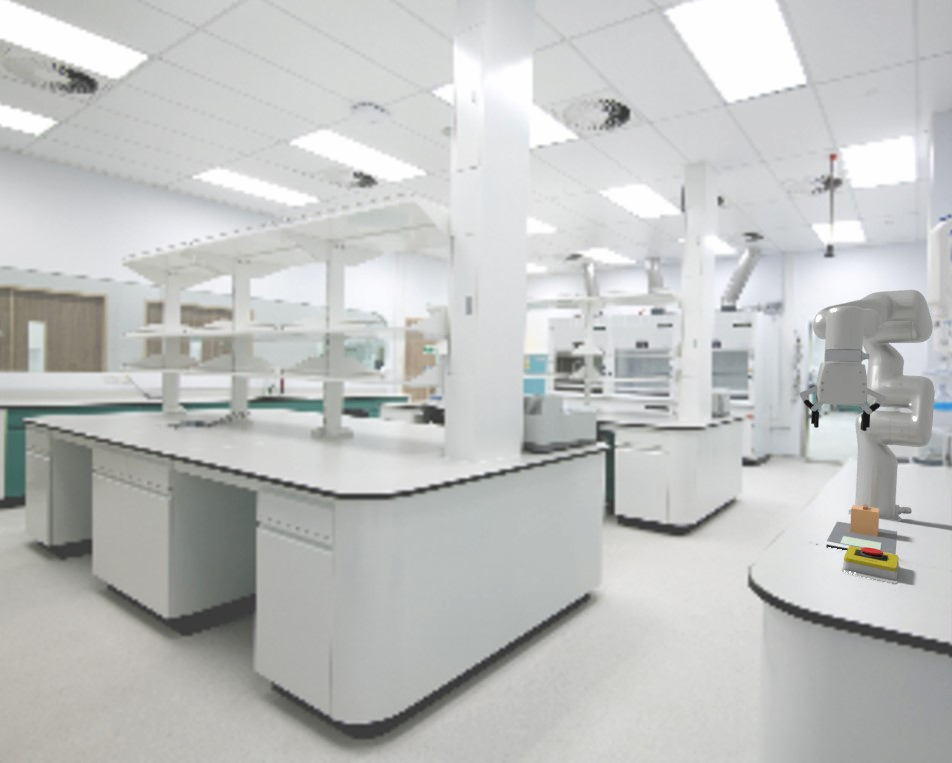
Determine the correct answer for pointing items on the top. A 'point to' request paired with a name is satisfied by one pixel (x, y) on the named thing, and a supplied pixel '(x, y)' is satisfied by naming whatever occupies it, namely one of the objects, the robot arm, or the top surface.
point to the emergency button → (871, 564)
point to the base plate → (862, 538)
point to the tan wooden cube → (864, 520)
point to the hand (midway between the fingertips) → (839, 428)
